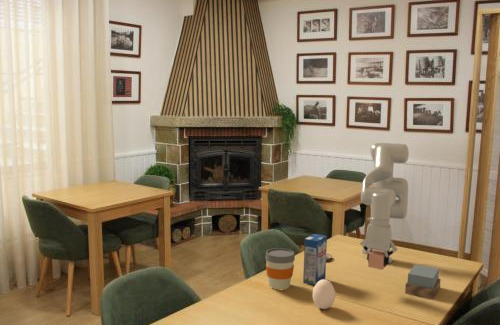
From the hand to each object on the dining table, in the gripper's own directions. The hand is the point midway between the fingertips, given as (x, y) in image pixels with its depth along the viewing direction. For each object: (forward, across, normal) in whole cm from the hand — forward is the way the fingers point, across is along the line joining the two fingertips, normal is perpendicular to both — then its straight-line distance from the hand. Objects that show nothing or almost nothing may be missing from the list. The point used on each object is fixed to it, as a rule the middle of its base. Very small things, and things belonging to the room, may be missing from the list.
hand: (377, 263), depth 204 cm
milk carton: (+13, -27, -4) cm, 30 cm away
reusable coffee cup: (+13, -37, -18) cm, 43 cm away
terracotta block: (+1, 0, 0) cm, 1 cm away
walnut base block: (+13, +16, +13) cm, 25 cm away
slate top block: (+9, +16, +13) cm, 22 cm away
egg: (+12, -12, -28) cm, 33 cm away
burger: (+14, -38, +26) cm, 48 cm away
